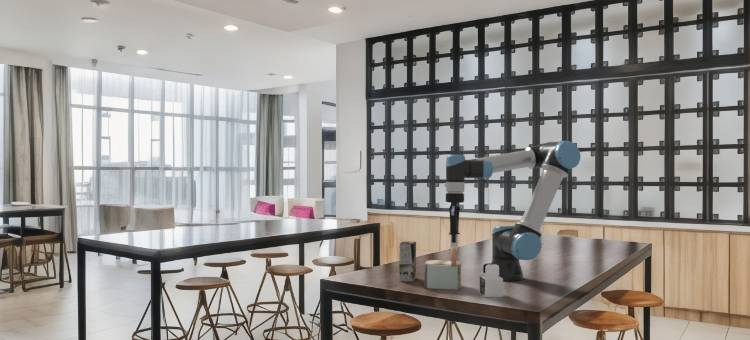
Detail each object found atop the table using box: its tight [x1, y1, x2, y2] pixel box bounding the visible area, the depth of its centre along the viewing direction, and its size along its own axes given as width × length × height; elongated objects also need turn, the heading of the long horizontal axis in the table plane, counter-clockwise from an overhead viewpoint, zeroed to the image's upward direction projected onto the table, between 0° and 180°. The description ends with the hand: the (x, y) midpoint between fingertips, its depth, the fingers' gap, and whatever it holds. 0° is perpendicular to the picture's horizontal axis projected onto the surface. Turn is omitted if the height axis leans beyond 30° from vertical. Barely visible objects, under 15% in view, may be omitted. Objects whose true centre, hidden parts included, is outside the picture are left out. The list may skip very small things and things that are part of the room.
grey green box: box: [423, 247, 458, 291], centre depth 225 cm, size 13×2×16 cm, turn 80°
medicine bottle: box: [479, 262, 504, 298], centre depth 216 cm, size 7×7×12 cm
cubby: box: [424, 259, 462, 291], centre depth 231 cm, size 14×9×10 cm, turn 80°
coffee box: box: [398, 241, 417, 283], centre depth 246 cm, size 9×6×16 cm
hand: (454, 250), depth 230 cm, fingers closed
